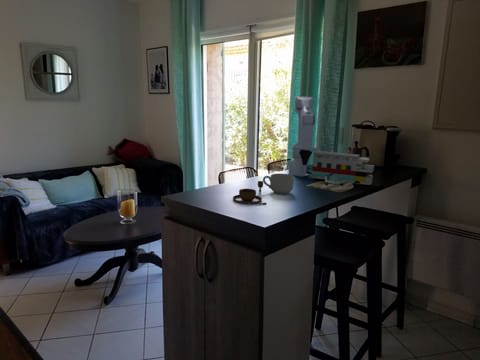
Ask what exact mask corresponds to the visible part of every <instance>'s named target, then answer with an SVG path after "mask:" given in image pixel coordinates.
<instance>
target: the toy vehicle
mask: <svg viewBox="0 0 480 360" xmlns="http://www.w3.org/2000/svg"><path fill="white" fill-rule="evenodd" d="M312 155H313V156H312V167H311V169H312V170H311V178H312V179H320V180H325V175H326V174H331V173H333V175H338V176H342V180H343V181H344V182H346V183H353V184H354V186H357V187H361V185H366V186H367V185H369V186H370V185H371V184H373V178H374V177H373V175H374V174H371V173H373V172H374V170H375V165H374V164H373V165H372V164H371V165H370V164H364V163H369V161H370V157H361V156H360V154H355V153H354V154H353V153H344V152H331V151H323V150H322V151H321V150H320V152H318V153H317V152H312ZM369 173H370V174H369Z"/></svg>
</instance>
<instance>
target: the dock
mask: <svg viewBox="0 0 480 360" xmlns="http://www.w3.org/2000/svg"><path fill="white" fill-rule="evenodd" d="M353 184H354V183H350V182H344V185H343V186H341V185H340V184H338V185H339V186H338V185H334V184H331V183H329V184H328V185H325V181H315V182H313V183H310V184H307V185H305V186H306V187H309V188H315V189H320V190H321V189H322V190H326V191H332V192H335V193H344V192H346V191H349V190H352V189H353V188H354V186H355V185H353Z"/></svg>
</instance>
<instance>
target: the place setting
mask: <svg viewBox="0 0 480 360" xmlns="http://www.w3.org/2000/svg"><path fill="white" fill-rule="evenodd" d="M263 187H264V182H263V180H258V181H257V188H258V189H259V190H258V194H262V188H263ZM255 198H256V199H255ZM262 198H263V197H261V196H259V195H257V190H256V189H254V188H241V189H239V191H238V194H237V195H234V196H233V197H232V201H233V202H235V203H237V204H240V205H254V207H257V206H258V207H259V206H265V205H267V202H262ZM239 199H240V200H239ZM254 200H256V201H254ZM261 204H263V205H261Z"/></svg>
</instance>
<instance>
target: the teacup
mask: <svg viewBox="0 0 480 360" xmlns="http://www.w3.org/2000/svg"><path fill="white" fill-rule="evenodd" d="M266 179H268V180H269V182H270V183H267V182H266ZM262 181H263V185H265V186H267V187H268V188H269V189H270V190H271V191H272V192H273V193H274V194H276V195H281V194H282V195H284V194H285V195H288V194H290V193H291V192H293V189H294V184H295V183H294V182H295V175H289V174H288V173H273V174H271V175H264V176H263V178H262Z"/></svg>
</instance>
